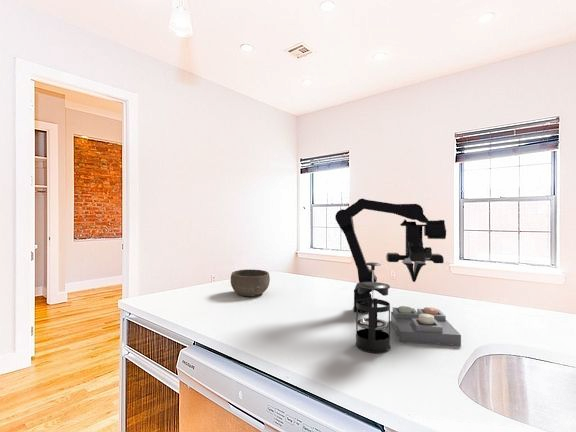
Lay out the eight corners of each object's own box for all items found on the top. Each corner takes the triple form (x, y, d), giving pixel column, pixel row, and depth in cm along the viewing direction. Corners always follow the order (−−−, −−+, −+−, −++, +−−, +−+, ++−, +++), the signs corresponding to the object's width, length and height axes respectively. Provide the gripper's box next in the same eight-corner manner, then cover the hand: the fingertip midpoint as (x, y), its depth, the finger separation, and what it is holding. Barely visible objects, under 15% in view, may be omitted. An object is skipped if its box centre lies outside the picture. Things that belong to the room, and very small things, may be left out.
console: (400, 341, 93) (400, 326, 93) (391, 320, 111) (391, 307, 111) (460, 345, 90) (460, 329, 90) (440, 323, 109) (440, 309, 109)
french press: (390, 356, 83) (390, 266, 83) (353, 351, 86) (353, 264, 86) (390, 339, 94) (390, 260, 94) (357, 335, 97) (357, 259, 97)
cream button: (420, 323, 94) (420, 317, 94) (417, 319, 98) (417, 313, 98) (435, 324, 93) (435, 318, 93) (432, 320, 97) (432, 314, 97)
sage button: (399, 315, 105) (399, 309, 105) (397, 311, 110) (397, 305, 110) (413, 315, 105) (413, 310, 105) (410, 311, 109) (410, 306, 109)
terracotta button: (425, 316, 104) (425, 310, 104) (422, 312, 108) (422, 307, 108) (439, 317, 103) (439, 311, 103) (435, 313, 107) (435, 307, 107)
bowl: (268, 299, 139) (268, 275, 139) (226, 299, 139) (226, 275, 139) (270, 289, 156) (270, 269, 156) (234, 289, 156) (234, 268, 156)
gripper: (390, 240, 111) (390, 285, 111) (448, 240, 108) (448, 287, 108) (386, 237, 122) (386, 279, 122) (439, 238, 119) (438, 280, 119)
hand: (413, 281), depth 117 cm, fingers closed
